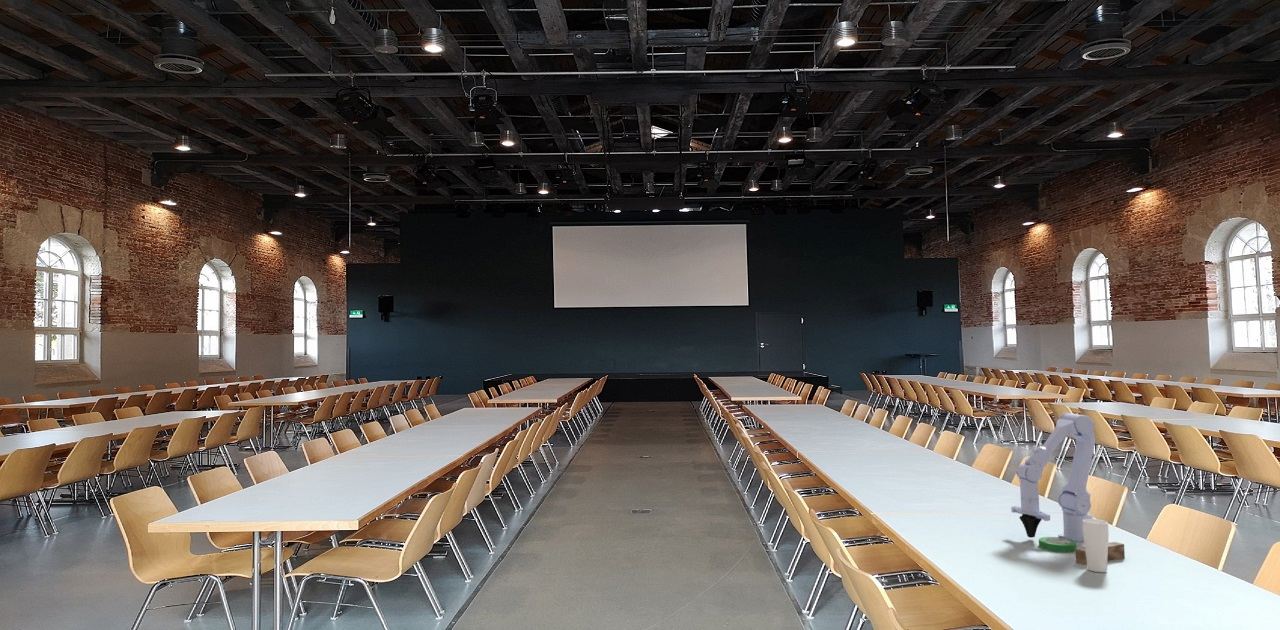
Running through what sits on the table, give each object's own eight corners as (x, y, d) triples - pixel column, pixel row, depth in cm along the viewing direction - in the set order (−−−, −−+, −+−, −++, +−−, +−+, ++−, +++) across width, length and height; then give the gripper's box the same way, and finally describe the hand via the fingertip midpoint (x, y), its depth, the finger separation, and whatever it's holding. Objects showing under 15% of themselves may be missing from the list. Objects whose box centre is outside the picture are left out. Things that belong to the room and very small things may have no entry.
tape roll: (1032, 544, 252) (1032, 536, 252) (1065, 543, 252) (1064, 536, 252) (1049, 553, 241) (1049, 545, 241) (1083, 553, 241) (1083, 545, 241)
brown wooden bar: (1115, 555, 236) (1115, 541, 237) (1124, 558, 234) (1124, 544, 234) (1075, 562, 230) (1075, 548, 230) (1084, 565, 227) (1083, 550, 227)
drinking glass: (1106, 567, 224) (1104, 519, 225) (1113, 574, 218) (1110, 524, 218) (1081, 566, 227) (1079, 517, 227) (1087, 572, 220) (1085, 523, 221)
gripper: (1004, 495, 262) (1005, 533, 262) (1038, 503, 248) (1040, 543, 248) (1019, 493, 265) (1020, 530, 264) (1054, 501, 251) (1055, 541, 250)
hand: (1031, 536), depth 256 cm, fingers closed
